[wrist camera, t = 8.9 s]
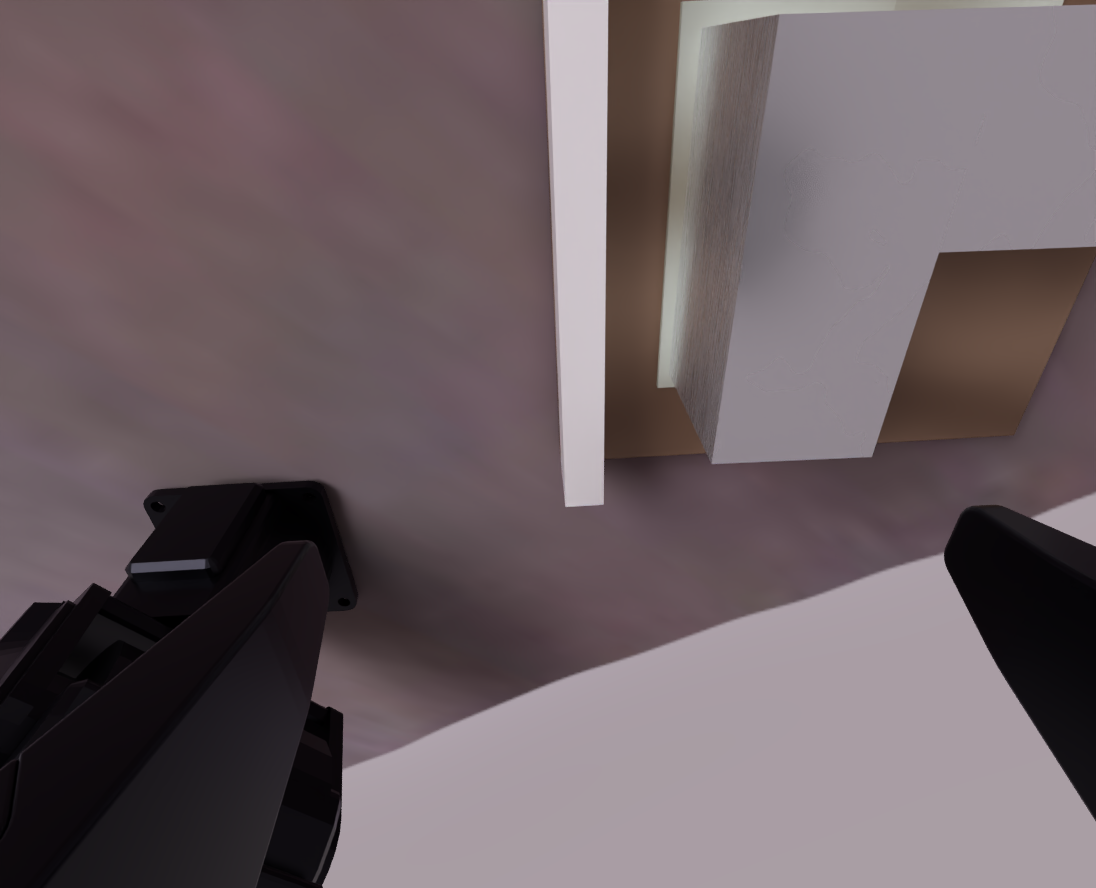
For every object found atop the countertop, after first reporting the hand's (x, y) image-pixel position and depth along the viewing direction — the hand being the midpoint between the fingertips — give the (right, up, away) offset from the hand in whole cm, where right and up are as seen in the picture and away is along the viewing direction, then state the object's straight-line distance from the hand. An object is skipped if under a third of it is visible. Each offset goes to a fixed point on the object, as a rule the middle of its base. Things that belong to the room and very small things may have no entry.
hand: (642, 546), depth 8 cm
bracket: (+6, +8, +8) cm, 13 cm away
